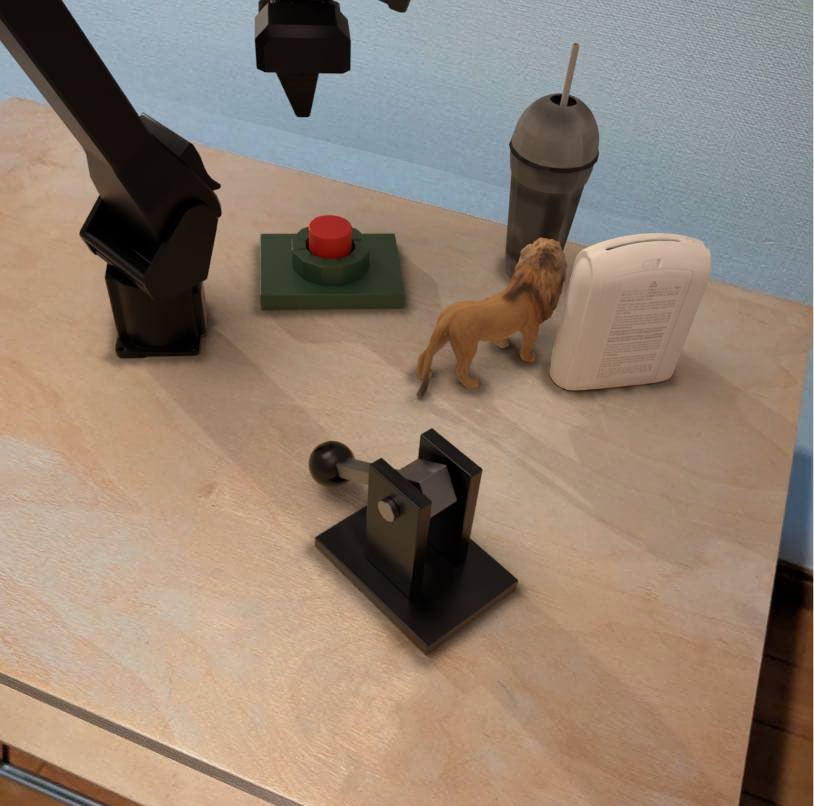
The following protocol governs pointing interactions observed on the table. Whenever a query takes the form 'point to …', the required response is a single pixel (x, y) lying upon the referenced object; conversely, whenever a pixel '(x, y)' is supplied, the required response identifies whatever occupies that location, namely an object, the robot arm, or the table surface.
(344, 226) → the button
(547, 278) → the lion figurine
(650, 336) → the photo printer
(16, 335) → the table surface
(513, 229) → the beverage cup
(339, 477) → the lever
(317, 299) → the control block
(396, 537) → the bracket
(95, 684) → the table surface
